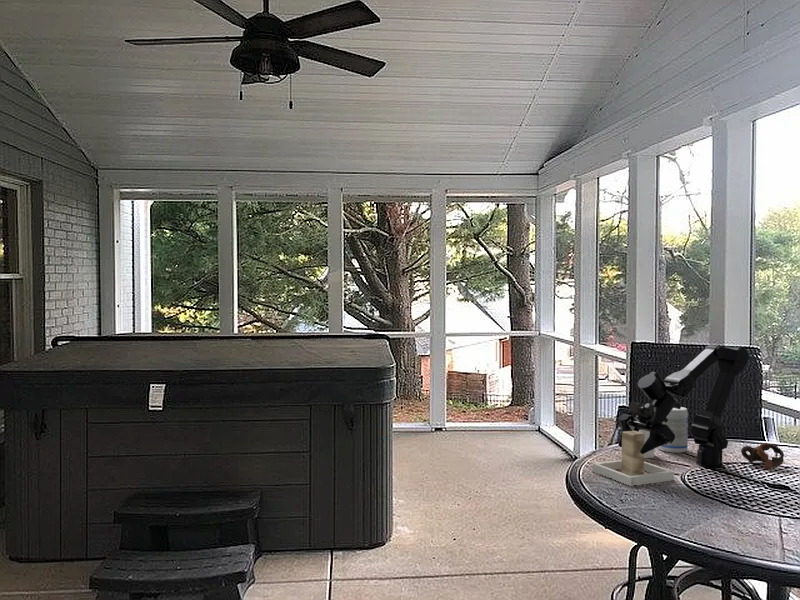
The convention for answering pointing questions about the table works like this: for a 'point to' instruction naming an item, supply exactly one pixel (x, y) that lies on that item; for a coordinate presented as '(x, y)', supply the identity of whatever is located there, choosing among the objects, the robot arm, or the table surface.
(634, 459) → the tan square block
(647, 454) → the jar
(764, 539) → the table surface
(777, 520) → the table surface
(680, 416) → the supplement tub
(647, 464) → the tray
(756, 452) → the brown looped piece
